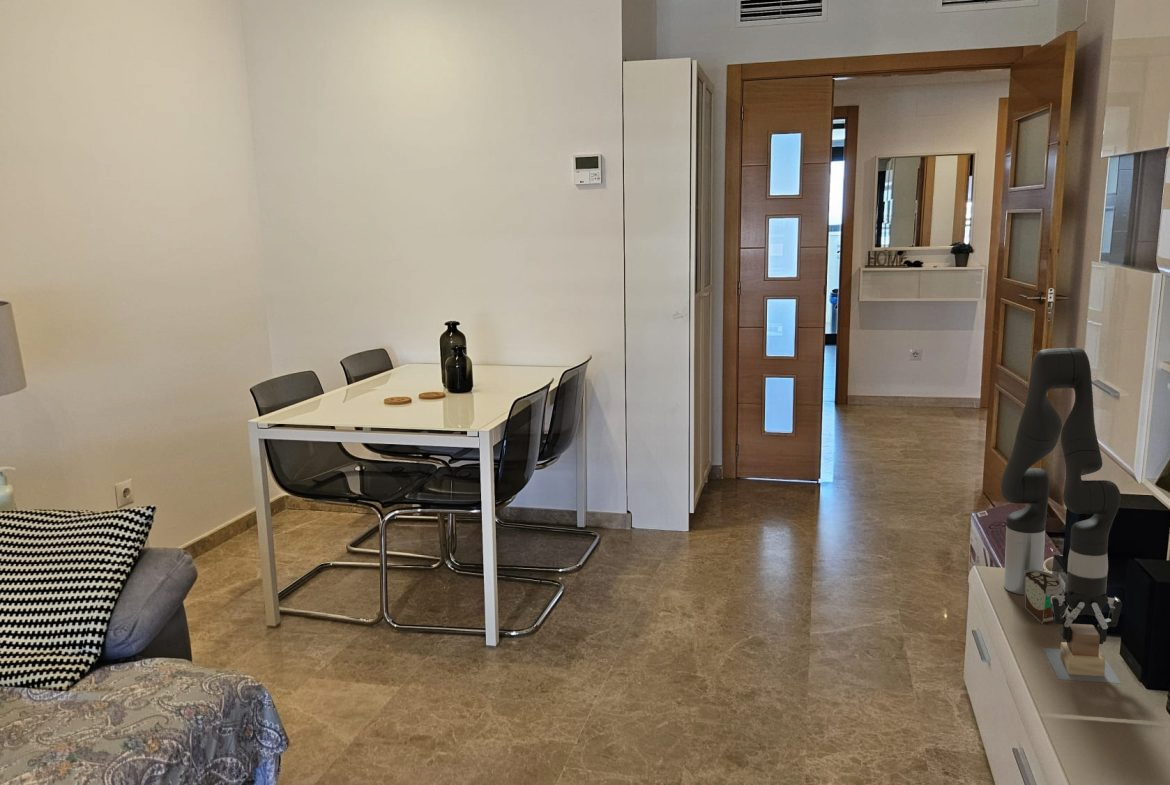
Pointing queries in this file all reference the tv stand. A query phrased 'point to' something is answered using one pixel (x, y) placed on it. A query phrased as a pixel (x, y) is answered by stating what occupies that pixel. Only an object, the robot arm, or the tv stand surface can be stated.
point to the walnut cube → (1084, 640)
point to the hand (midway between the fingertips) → (1083, 641)
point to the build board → (1063, 674)
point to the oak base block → (1082, 663)
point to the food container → (1041, 594)
